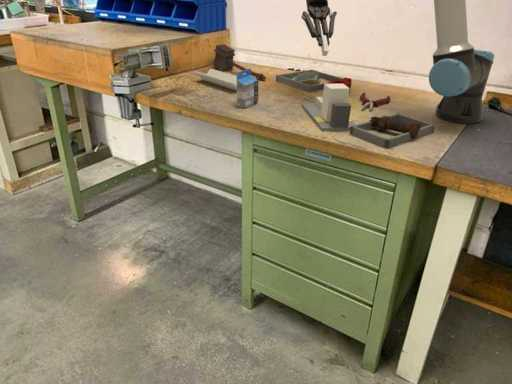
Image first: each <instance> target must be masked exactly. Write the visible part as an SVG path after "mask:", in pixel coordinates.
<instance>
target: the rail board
mask: <svg viewBox="0 0 512 384" xmlns="http://www.w3.org/2000/svg"><path fill="white" fill-rule="evenodd" d="M322 100H323V96H316V97H315V102H313V103H312V102H307V103H302V102H301V108H302V109H303V110H304V111H305V112H306V113H307V115H308V116H309V117H310V118H311V119H312V121H313V122H314V124H315V125H316V126H317V127H318V128H319V130H320V131H321V132H333V131H335V132H336V131H337V132H338V131H339V130H345V131H350V127H351V126H353V125H357V123H355V122H354V121H353V120H352V119H351V118H350V117H351V112H352V111H351V110H352V105H351V104H350V103H349V102H348V103H333V104H332V112H331V120H330V122H326V121H325V120H324V119H323V118H322V117H321V109H322ZM339 132H340V131H339Z"/></svg>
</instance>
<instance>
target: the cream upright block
mask: <svg viewBox="0 0 512 384" xmlns="http://www.w3.org/2000/svg"><path fill="white" fill-rule="evenodd" d="M349 89H350V90H351V88H348V87H347V86H346V85H344V84H324V90H322V91H323V93H322V98H323V100H322V109H321V117H322V118H323V119H324V120H325V121H326V122H330V120H331V112H332V104H333V103H349V95H350V94H349Z"/></svg>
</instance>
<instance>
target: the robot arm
mask: <svg viewBox="0 0 512 384" xmlns="http://www.w3.org/2000/svg"><path fill="white" fill-rule="evenodd" d="M328 1H329V0H306V1H305V3H306V9H307V10H306V11H305V10H303V11H302V13H301V19H302V20H303V21H304V22H305V25H306V27H307V30H308V32H309V34H310V36H311V38H312V39H314V38H315V40H316V41H317V45H318V47H320V48H321V55H322V56H323V57H326V56H327V55H328V53H329V51H330V50H329V46H330V43H331V41H330V39H331V38H332V37H333V35H334V32H335V30H334V29H335V18H336V16H337V14H338V11H331V8H330V7H329V2H328ZM433 7H434V19H435V20H434V21H435V32H436V45H437V46H436V47H437V48H436V50H435V51H434V52H433V54H432V61H433V62H432V64H433V65H432V67H431V69H430V70H429V73H428V83H429V85H430V88H431V89H432V91H433V92H435V93H436V94H438V95H439V96H442V98H441V99H440V102H439V103H438V104H437V106H436V108H435V113H434V114H435V116H437V117H438V118H439V119H442V120H445V121H449V122H452V123H458V124H466V125H468V124H470V125H471V124H473V125H474V124H477V123H480V122H481V121H482V120H483V116H484V113H483V112H484V110H483V108H484V107H483V96H484V93H485V90H486V86H487V83H488V80H489V77H490V73H491V69H492V66H493V64H494V59H495V54H494V53H493V52H492V51H490V50H481V49H475V47H474V46H473V45H472V44H471V43H470V42H469V38H468V37H469V36H468V17H467V2H466V0H433ZM328 16H329V19H330V20H329V25H328V21H327V17H328Z"/></svg>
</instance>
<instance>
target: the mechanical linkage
mask: <svg viewBox="0 0 512 384" xmlns="http://www.w3.org/2000/svg"><path fill="white" fill-rule="evenodd" d="M342 78H343V77H342ZM328 82H329V83H328V84H344V85H346V86H347V87H348V88H350V89H349V95H350V93H351V87H352V78H351V77H344V78H343V79H341V80H335V79H334V80H332V81H328Z"/></svg>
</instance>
